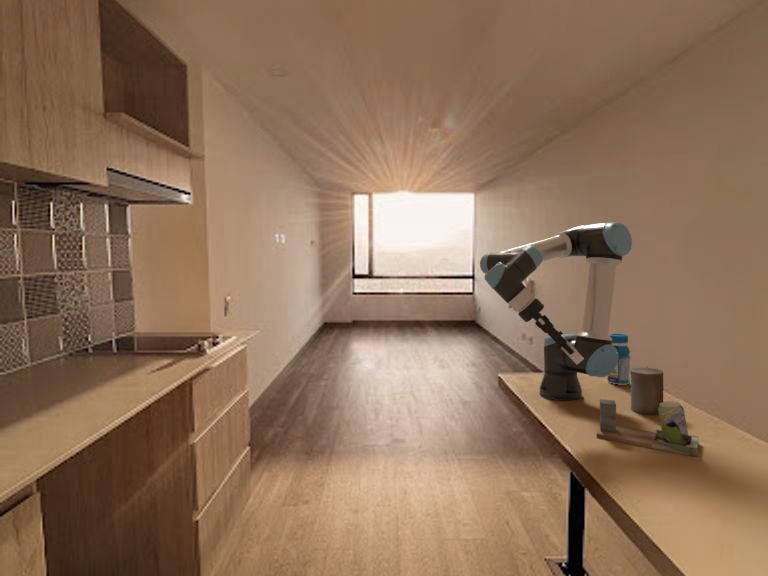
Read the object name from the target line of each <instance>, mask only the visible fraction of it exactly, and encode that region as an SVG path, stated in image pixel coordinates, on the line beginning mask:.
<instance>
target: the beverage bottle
mask: <svg viewBox="0 0 768 576" xmlns="http://www.w3.org/2000/svg"><path fill="white" fill-rule="evenodd" d="M609 336H610V337H611V339H612V345H613V346H614V347H615V348H616V349H617V352H618V363H617V365H616V367H615V369H614V371H613V372H611V374H609V375H608V376H607V383H609V384H611V383H613V384H612V385H615V384H618V385H617V386H627V384H628V385H629V384H631V367H630V366H631V365H630V364H631V363H630V361H631V356H630V353H631V350H630V348H629V347H628V345H627V344H628V342H629V336H628V334H626V333H625V334H624V333H610V334H609Z"/></svg>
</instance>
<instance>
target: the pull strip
mask: <svg viewBox="0 0 768 576" xmlns="http://www.w3.org/2000/svg"><path fill="white" fill-rule="evenodd" d="M655 431H656V432H653V431H647V430H642V429H637V428H632V427H631V428H630V427H625V426H621V425H620V426H619V425H617V403H616V401H615V400H614V399H603V398H599V429H598V431H597V432H596V438H598V439H604V440H609V441H614V442H620V443H624V444H629V445H635V446H639V447H643V448H650V449H654V450H655V449H656V450H660V451H666V452H671V453H674V454H681V455H686V456H691V457H695V458H696V457H698V450H699V441H700V440H699V436H697V435H691V434H688V437H689V442H690V443H689V444H690V446H689V445H687V446H682V445H677V444H672V443H666V442H664V441H659V440H656V439H657V438H660V439H663V435H662V429H656V430H655Z"/></svg>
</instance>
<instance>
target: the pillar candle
mask: <svg viewBox="0 0 768 576" xmlns="http://www.w3.org/2000/svg"><path fill="white" fill-rule="evenodd" d="M662 402H664V371H663V370H661V369H658V368H652V367H648V366H646V367H634V368H630V409H631V411H633V412H634V413H637V414H643V415H649V416H650V415H654V416H655V415H657V416H659V412H658V408H659V406H660V403H662Z"/></svg>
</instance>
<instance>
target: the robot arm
mask: <svg viewBox="0 0 768 576" xmlns="http://www.w3.org/2000/svg"><path fill="white" fill-rule="evenodd" d="M632 246H633V238H632V234H631V232H630V230H629V228H628V227H627V226H626V225H625V224H623V223H622V222H618V221H617V222H616V221H615V222H614V221H613V222H611V221H610V222H609V221H607V222H599V223H592V224H582V225H578V226H575V227H572V228H568V229H566V230H564V231H560V232H556V233H555V234H553V235H552V237H549V238H545V239H542V240H538V241H533V242H530V243H527V244H524V245H520V246H517V247H513V248H510V249H506V250H502V251H499V252H490V253H486V254H484V255H483V256H482V257H480V261H479V268H480V270H481V272H482V273H483V274H485V275H484V280H485V282H486V283H487V284H488V285H489V287H491V289H492V290H494V291H495V293H496V294H498V295H499V296H500V298H501V299H503V300H504V301H505V302H506V303H507V304H508V309H510V310H511V309H512V310H513V311H514V312H515V313H518V317H520V318H521V319H522V320H523V321H524V322H525V323H529V322H530V321H531V320H532V319H533V320H534V321H535V322H534V324H535V326H536V327H537V328H538V329H540V330H541V331H542V332H543V333H544V334H547V335H548V336H546V337H544V339H543V340H544V342H543V365H544V370H543V371H544V373H543V377H542V378H541V379H542V380H541V382H540V385H539V395H540V394H541V395H540V396H542V397H544V398H547V399H550V398H551V399H552V400H555V399H557V401H576V400H579V399H582V397H583V390H582V386H581V384H580V380H579V378H578V374H583V375H587V376H589V377H596V378H605V377H608V375H609V374H611V372H613V371H614V369H615V367H616V365H617V363H618V352H617V349H616V348H615V347H614V346H613V345H612V339H611V337H610V334H609V331H610V322H611V315H612V307H613V306H612V305H613V297H614V290H615V289H614V288H615V282H616V281H615V280H616V275H617V267H618V266H619V265H620V264H622V263H623V257H624V256H626V255H628V254H629V253H630V251H631V250H632ZM569 257H585V261H586V262H587V263H588V264H589V268H588V275H587V285H586V294H585V302H584V309H583V317H582V326H581V331H579V332H578V333H577V334H575V333H565V334H564V333H563V332H562V331H561V330H557V329H556V328H555V327H554V324H553V323H552V322H551V321H550V318H548V317H547V315H545V314H544V315H542V313H541V312H542V311H543V310H544V309H545V306H544V305H545V304H544V303H542V302H541V300H539V299H538V298H537V297H536V298H535V295H534V294H533V292H532V291H531V290H530V289H529V288H528V287H527V286H526V285H525V284H523V282H524V281H525V280H526V279H527V278H528V277H529V276H530V275H531V274H533V272H535V271H536V270H537V268H539V266H541V264H542V263H543V262H546V261H548V260H552V259H555V258H560V259H564V258H569Z"/></svg>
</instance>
